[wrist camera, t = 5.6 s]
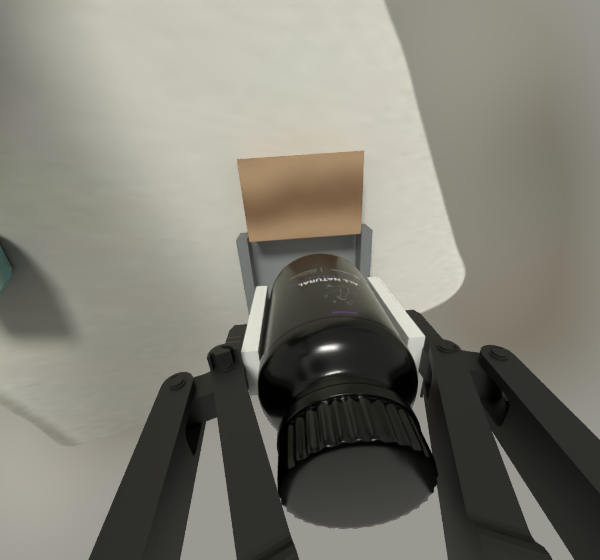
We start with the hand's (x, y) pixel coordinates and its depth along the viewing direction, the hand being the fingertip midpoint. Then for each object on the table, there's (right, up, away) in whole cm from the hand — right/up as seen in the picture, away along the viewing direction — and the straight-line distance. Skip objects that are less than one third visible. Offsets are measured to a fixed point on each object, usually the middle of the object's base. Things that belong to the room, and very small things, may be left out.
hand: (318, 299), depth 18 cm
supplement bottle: (0, 0, +1) cm, 1 cm away
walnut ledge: (-1, +11, +11) cm, 16 cm away
